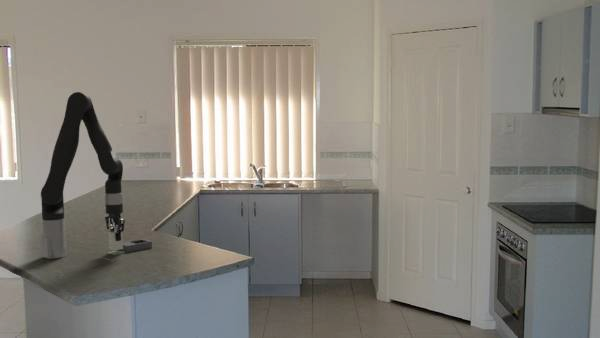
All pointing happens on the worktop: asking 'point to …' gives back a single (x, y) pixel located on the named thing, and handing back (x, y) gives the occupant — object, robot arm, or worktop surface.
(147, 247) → the grey holder tray
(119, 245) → the beige rectangular block
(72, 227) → the worktop surface
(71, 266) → the worktop surface
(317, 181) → the worktop surface
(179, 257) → the worktop surface
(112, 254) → the mat
